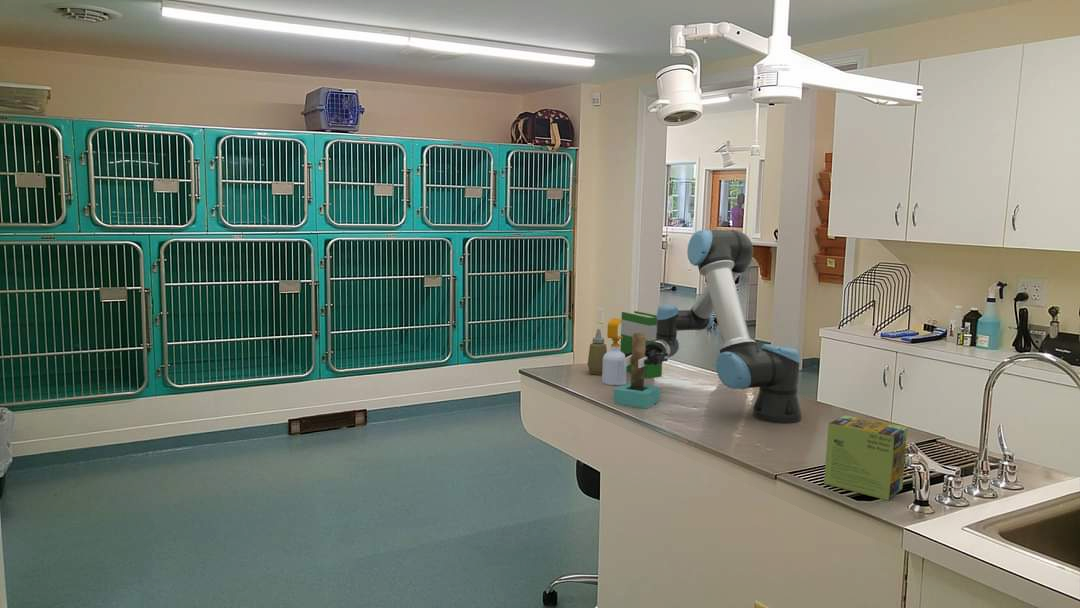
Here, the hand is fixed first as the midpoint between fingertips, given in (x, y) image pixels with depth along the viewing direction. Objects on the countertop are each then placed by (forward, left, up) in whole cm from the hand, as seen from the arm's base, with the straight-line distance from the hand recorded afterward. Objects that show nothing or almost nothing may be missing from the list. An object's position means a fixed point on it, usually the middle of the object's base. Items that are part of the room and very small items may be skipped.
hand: (632, 363), depth 249 cm
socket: (0, -5, -15) cm, 15 cm away
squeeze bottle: (+30, -38, -15) cm, 51 cm away
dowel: (0, -5, -11) cm, 12 cm away
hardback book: (+16, -49, -15) cm, 54 cm away
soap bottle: (+18, -27, -15) cm, 36 cm away
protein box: (-76, +39, -15) cm, 87 cm away
